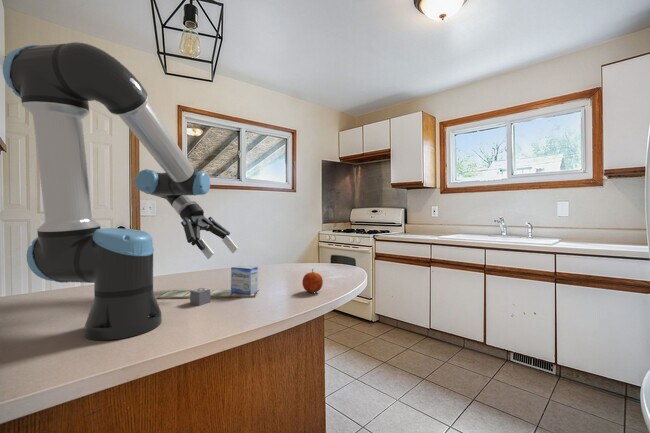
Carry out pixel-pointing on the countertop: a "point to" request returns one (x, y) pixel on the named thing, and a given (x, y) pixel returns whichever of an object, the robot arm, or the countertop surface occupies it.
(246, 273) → the medicine box
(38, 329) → the countertop surface
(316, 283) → the fruit
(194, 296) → the grey toy brick
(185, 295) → the board
